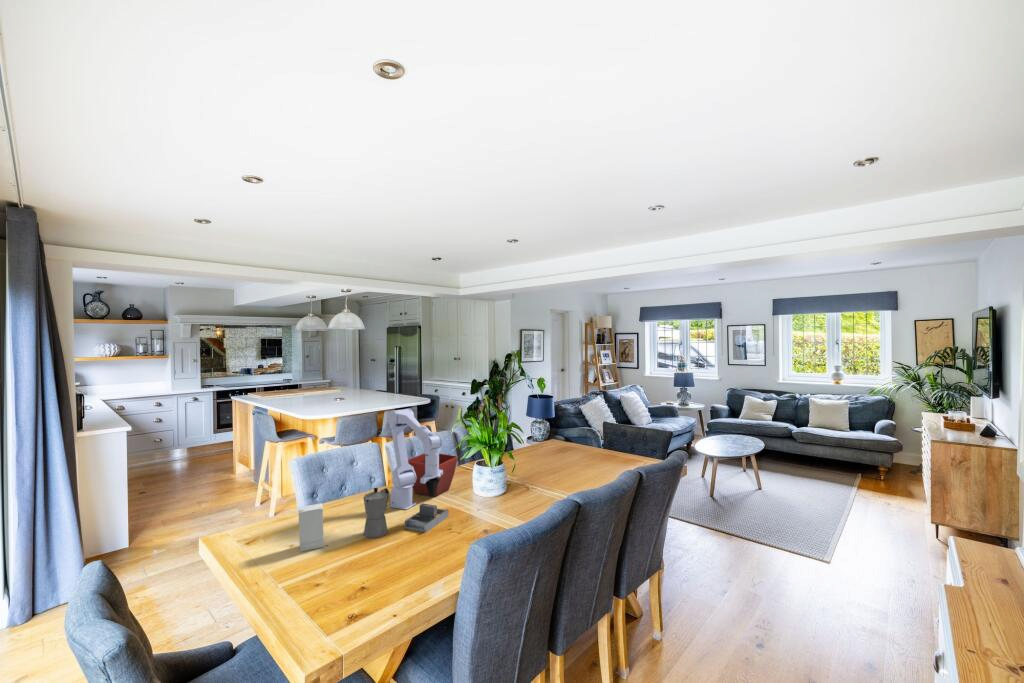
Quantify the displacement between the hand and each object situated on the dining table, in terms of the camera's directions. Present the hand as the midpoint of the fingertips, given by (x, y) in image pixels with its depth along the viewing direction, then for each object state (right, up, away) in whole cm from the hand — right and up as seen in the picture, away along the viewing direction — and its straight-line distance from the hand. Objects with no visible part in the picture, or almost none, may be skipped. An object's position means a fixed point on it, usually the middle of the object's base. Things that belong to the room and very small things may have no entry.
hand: (431, 495), depth 198 cm
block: (-1, -9, -5) cm, 10 cm away
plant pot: (-6, -10, +34) cm, 36 cm away
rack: (-1, -10, -4) cm, 11 cm away
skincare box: (-40, -10, -28) cm, 49 cm away
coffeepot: (-19, -10, -14) cm, 26 cm away
